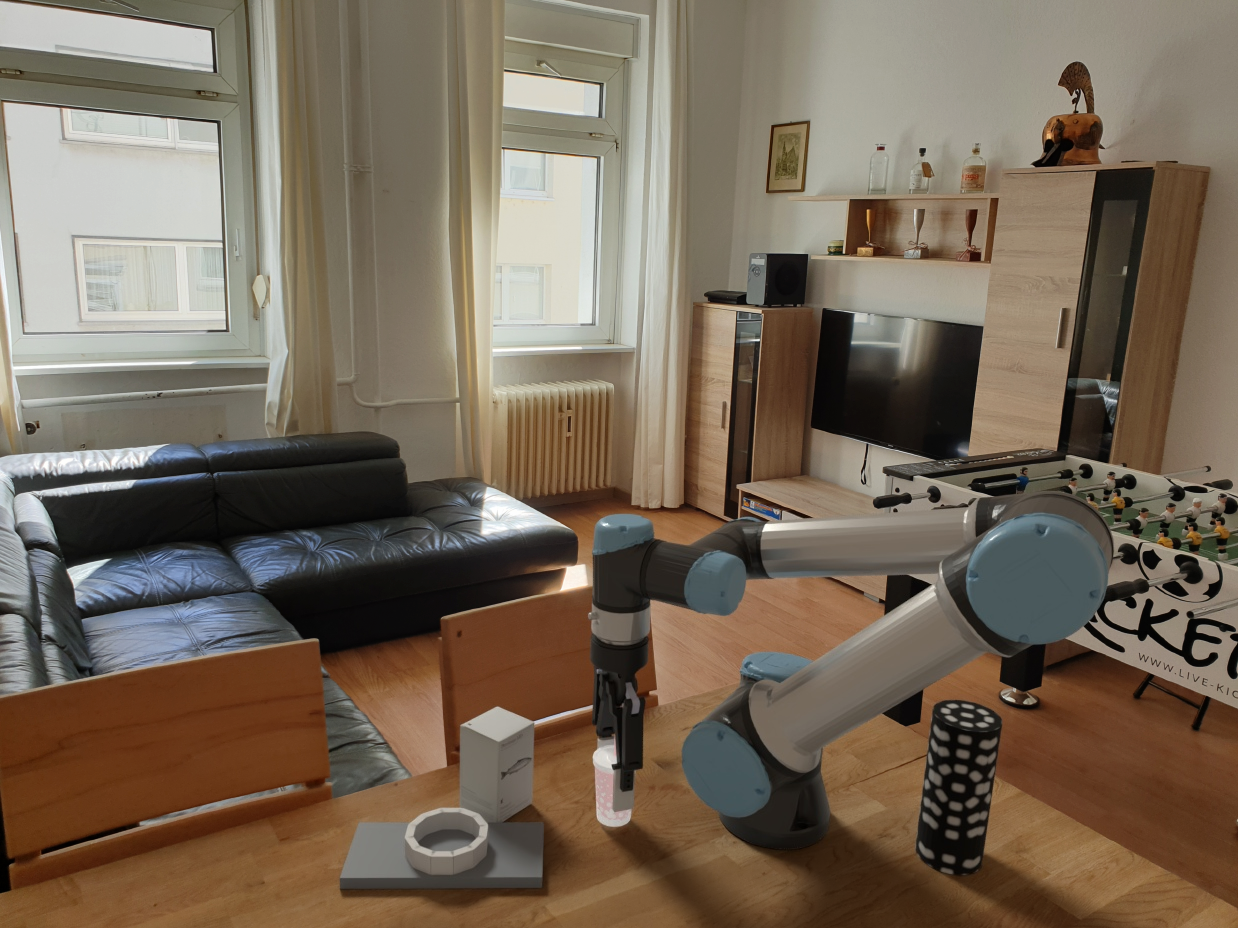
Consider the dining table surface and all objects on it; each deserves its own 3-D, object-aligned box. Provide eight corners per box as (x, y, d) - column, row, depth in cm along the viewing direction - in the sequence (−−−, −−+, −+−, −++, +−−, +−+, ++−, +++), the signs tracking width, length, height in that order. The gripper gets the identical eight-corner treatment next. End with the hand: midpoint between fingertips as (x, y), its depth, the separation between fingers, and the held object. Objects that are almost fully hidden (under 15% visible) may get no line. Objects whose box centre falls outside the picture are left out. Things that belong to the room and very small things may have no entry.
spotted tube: (912, 864, 121) (930, 722, 117) (917, 828, 129) (934, 694, 124) (981, 882, 118) (1002, 737, 114) (982, 844, 126) (1002, 707, 121)
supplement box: (496, 828, 125) (497, 742, 122) (457, 807, 129) (457, 723, 126) (534, 804, 131) (536, 721, 128) (495, 784, 135) (496, 703, 132)
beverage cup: (615, 835, 123) (618, 738, 120) (581, 816, 127) (584, 721, 124) (645, 816, 128) (649, 722, 125) (612, 798, 132) (615, 706, 129)
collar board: (543, 832, 125) (544, 805, 124) (541, 887, 114) (542, 858, 113) (359, 832, 123) (358, 805, 122) (339, 888, 112) (338, 859, 111)
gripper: (570, 609, 129) (567, 762, 134) (616, 668, 112) (611, 841, 117) (622, 604, 132) (617, 754, 137) (675, 661, 114) (667, 830, 119)
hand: (614, 794), depth 127 cm, fingers closed on beverage cup, 6 cm apart
